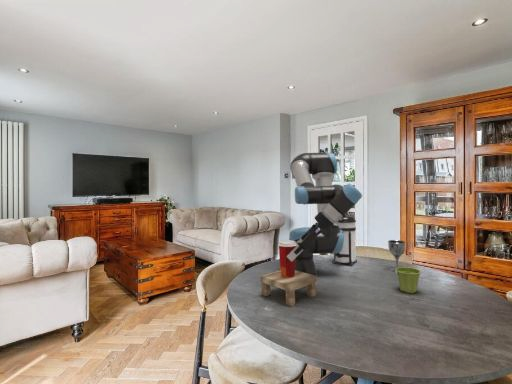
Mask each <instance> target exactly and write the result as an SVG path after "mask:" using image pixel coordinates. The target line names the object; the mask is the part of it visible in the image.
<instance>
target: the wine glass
mask: <svg viewBox="0 0 512 384" xmlns="http://www.w3.org/2000/svg"><path fill="white" fill-rule="evenodd" d="M387 243H388V250H389V253H390V254H391V255H392V256H393V257H394V259H395V260H394V261H395V266H396V267H393V268H391V267H390V269H389V271H391V272H395V273H397V271H396V268H398V267H399V259H400V258H401V257H402V256H403V255H404V253H405V250H406V241H404V240H400V239H399V240H397V239H396V240H395V239H390V240H388V242H387Z"/></svg>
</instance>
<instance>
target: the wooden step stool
mask: <svg viewBox="0 0 512 384" xmlns="http://www.w3.org/2000/svg"><path fill="white" fill-rule="evenodd" d="M260 282H261V295H264V296H263V297H265V296H268V297H270V296H271V286H272V287H274V288H278V289H281V290H284V291H285V305H286V306H288V307H294V306H295V305H296V293H295V292H296V290H298V289H299V290H300V289H301V288H304V287H306V296H308V297H311V298H313V297H315V296H316V282H317V275H316V276H315V275H311V274H307V273H304V272H300V271H296V270H295V276H294V277H292V278H284V277H282V276H281V269H279V270H277V271H273V272H270V273H266V274H264V275H260ZM269 295H270V296H269Z"/></svg>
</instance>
